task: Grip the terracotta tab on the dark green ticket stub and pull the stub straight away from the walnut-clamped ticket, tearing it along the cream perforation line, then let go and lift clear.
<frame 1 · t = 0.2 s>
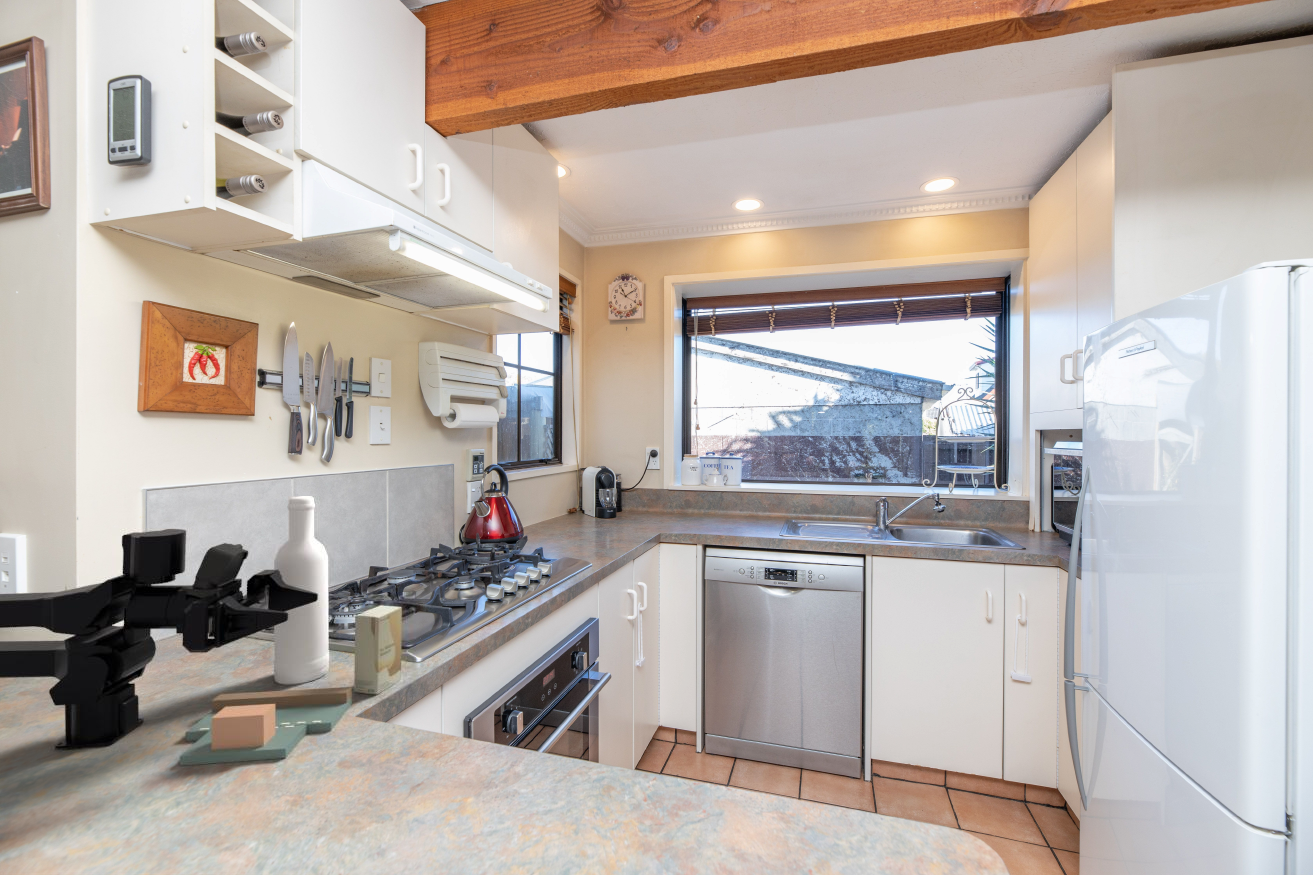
hand: (303, 606, 82), 17 cm above the countertop, tool horizontal, fingers open, 9 cm apart
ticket: (274, 721, 83), on the countertop
skincare box: (378, 686, 94), on the countertop
bottle: (302, 676, 98), on the countertop
stub: (246, 728, 76), point 3 cm above the countertop, slide at 0.0 cm
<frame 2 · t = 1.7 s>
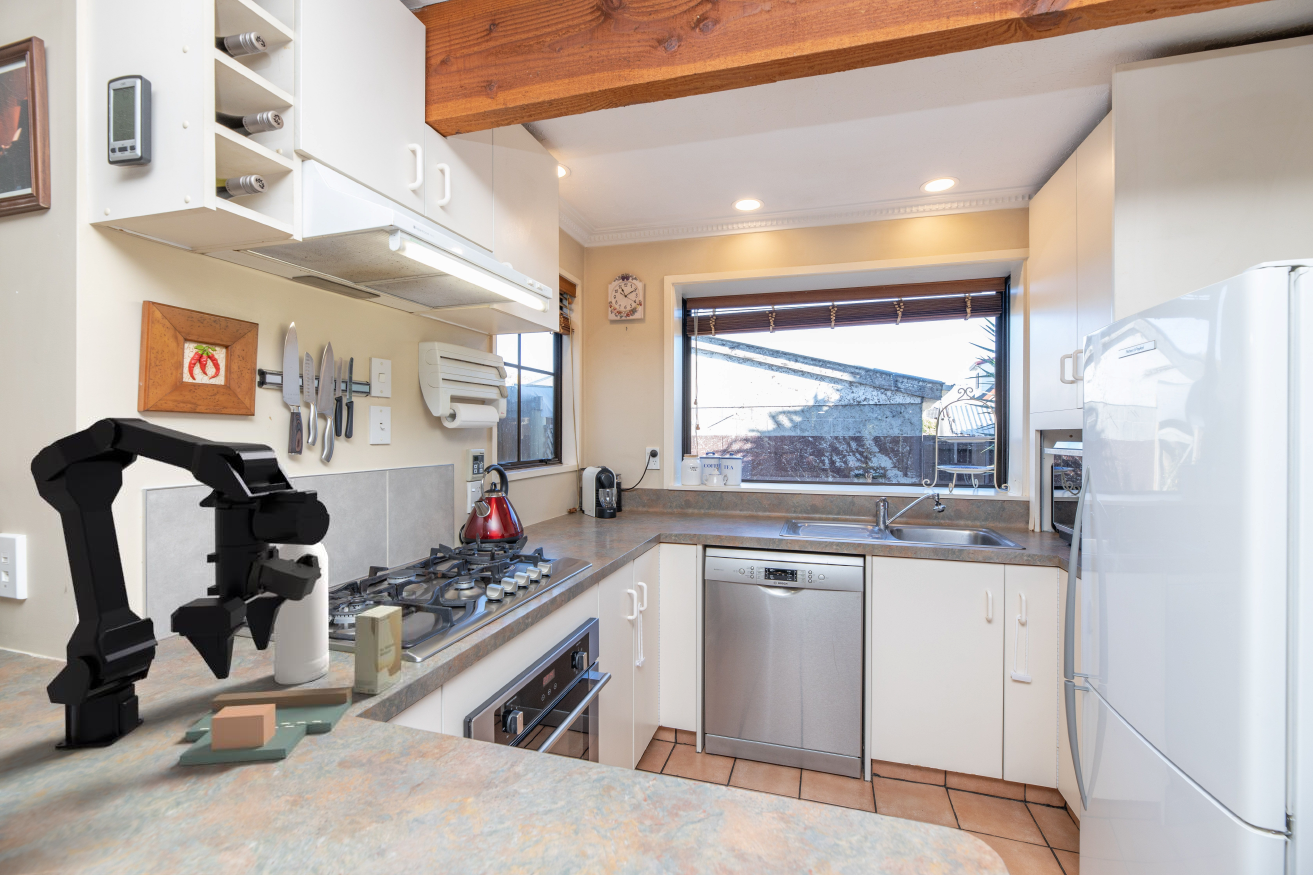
hand: (243, 663, 75), 11 cm above the countertop, tool pointing down, fingers open, 9 cm apart
nothing on the countertop moved.
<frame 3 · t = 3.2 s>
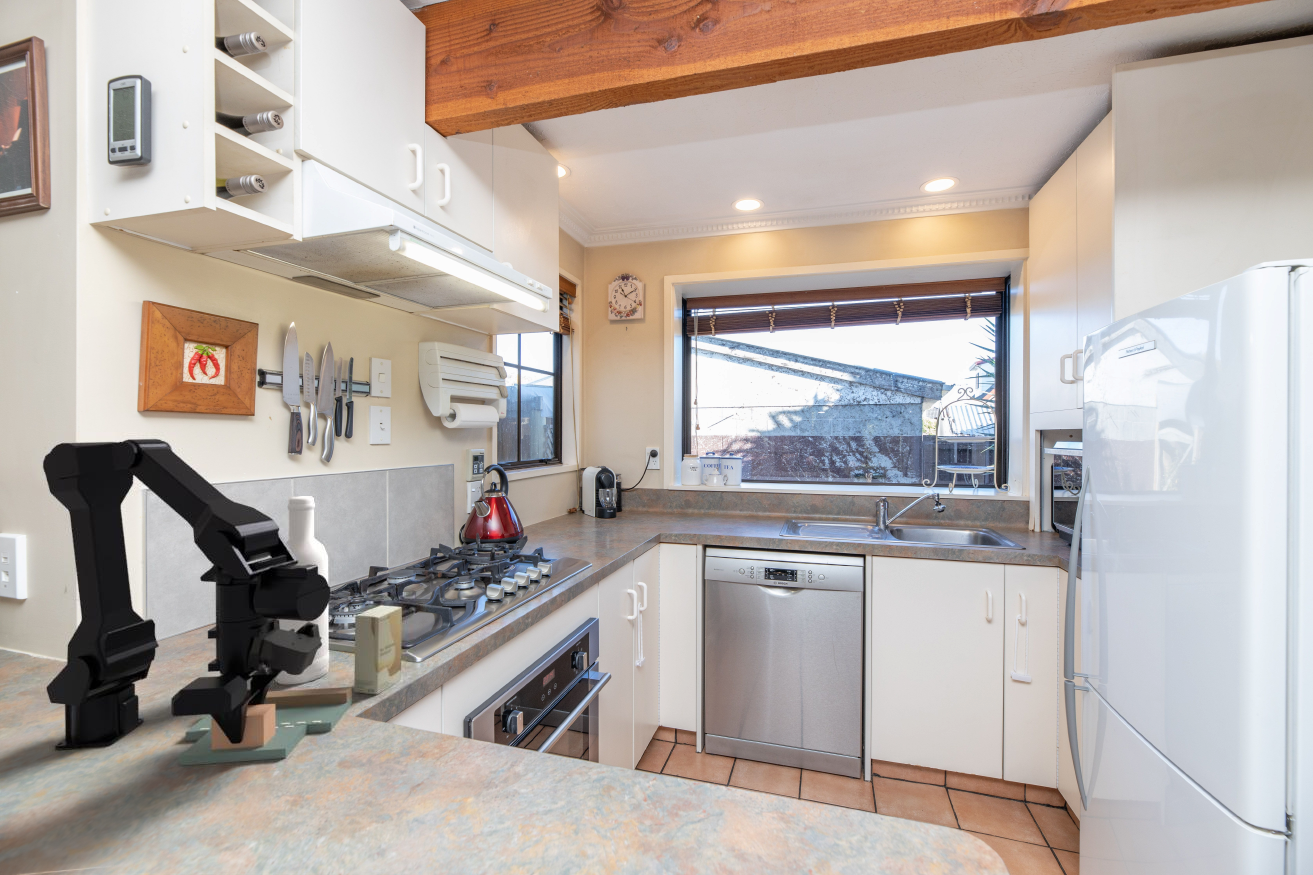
hand: (244, 735, 75), 2 cm above the countertop, tool pointing down, fingers closed on stub, 3 cm apart
stub: (246, 728, 76), point 3 cm above the countertop, slide at 0.0 cm, touching gripper
everything else where it was.
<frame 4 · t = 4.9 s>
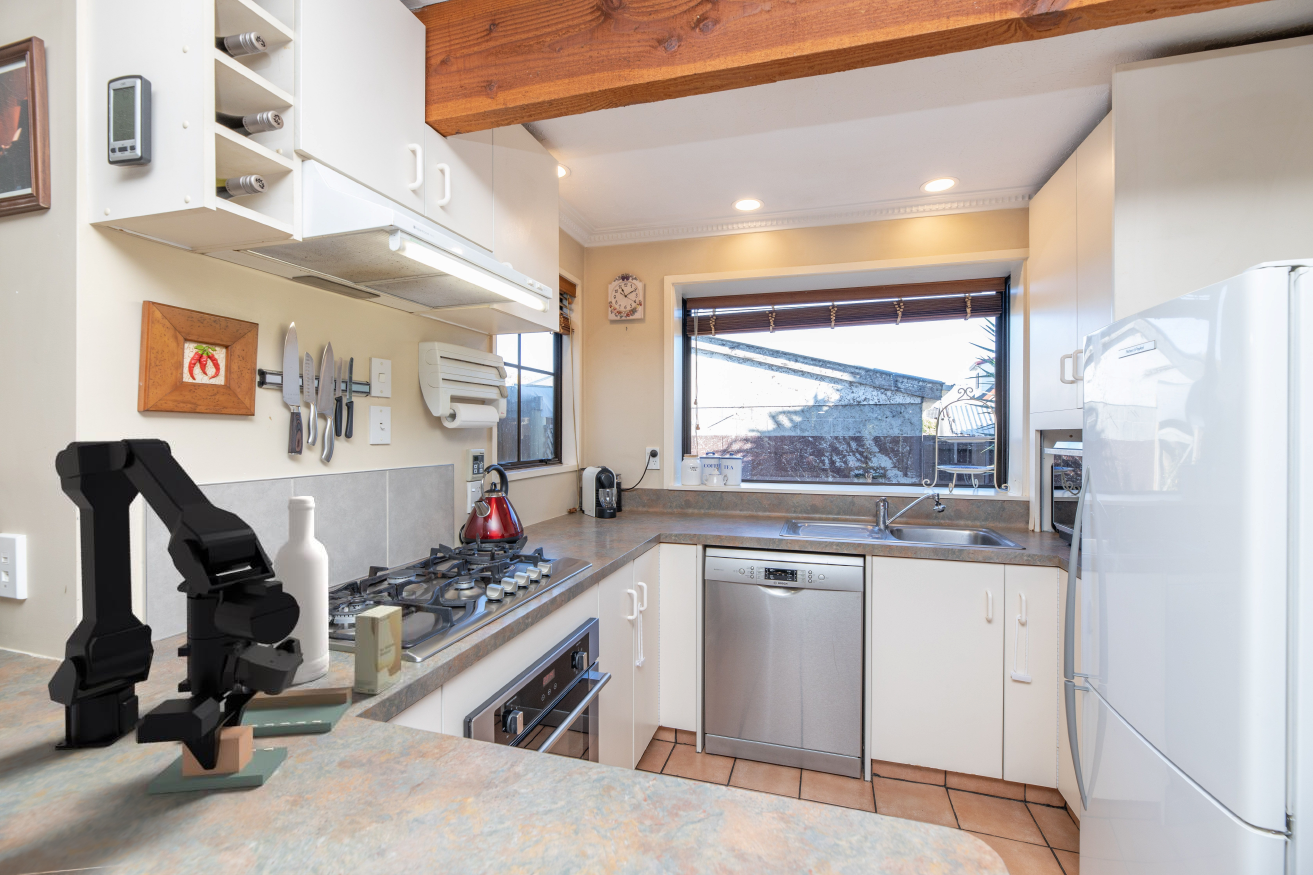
hand: (218, 760, 70), 2 cm above the countertop, tool pointing down, fingers closed on stub, 3 cm apart
stub: (221, 752, 70), point 3 cm above the countertop, slide at 5.6 cm, touching gripper
everything else where it was.
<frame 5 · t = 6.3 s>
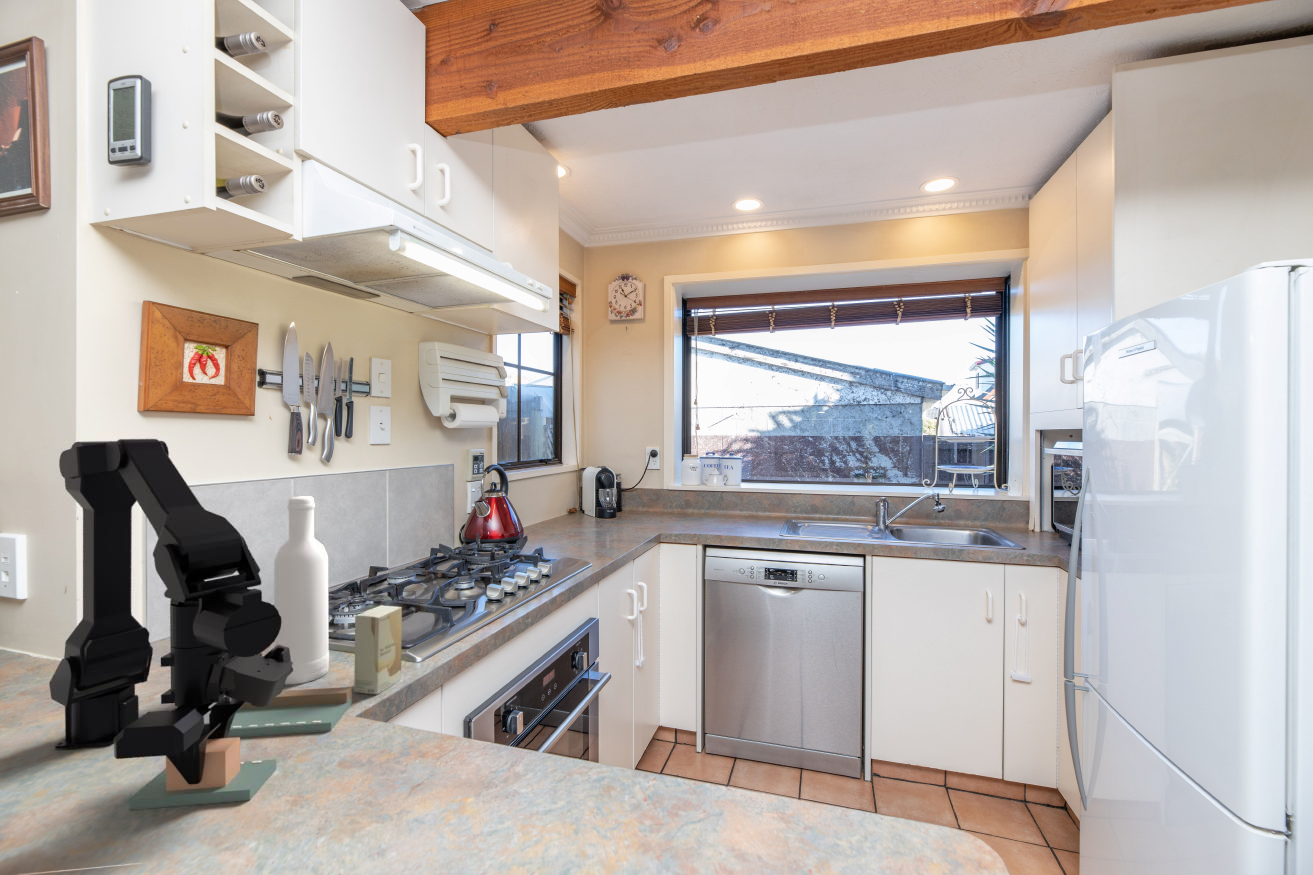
hand: (204, 774, 67), 2 cm above the countertop, tool pointing down, fingers closed on stub, 3 cm apart
stub: (206, 765, 67), point 3 cm above the countertop, slide at 8.4 cm, touching gripper
everything else where it was.
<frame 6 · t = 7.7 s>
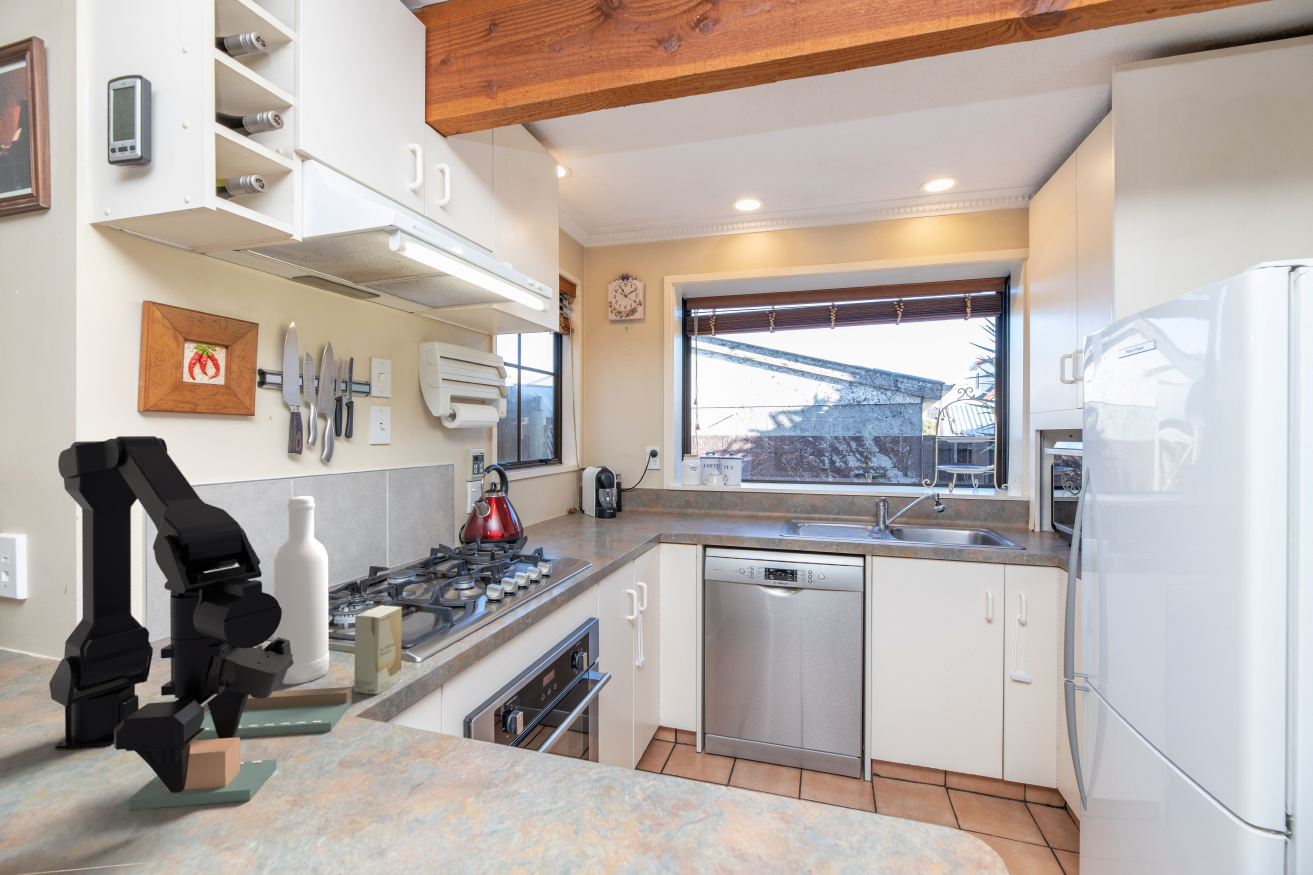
hand: (204, 766, 67), 3 cm above the countertop, tool pointing down, fingers open, 9 cm apart
stub: (206, 765, 67), point 3 cm above the countertop, slide at 8.4 cm
everything else where it was.
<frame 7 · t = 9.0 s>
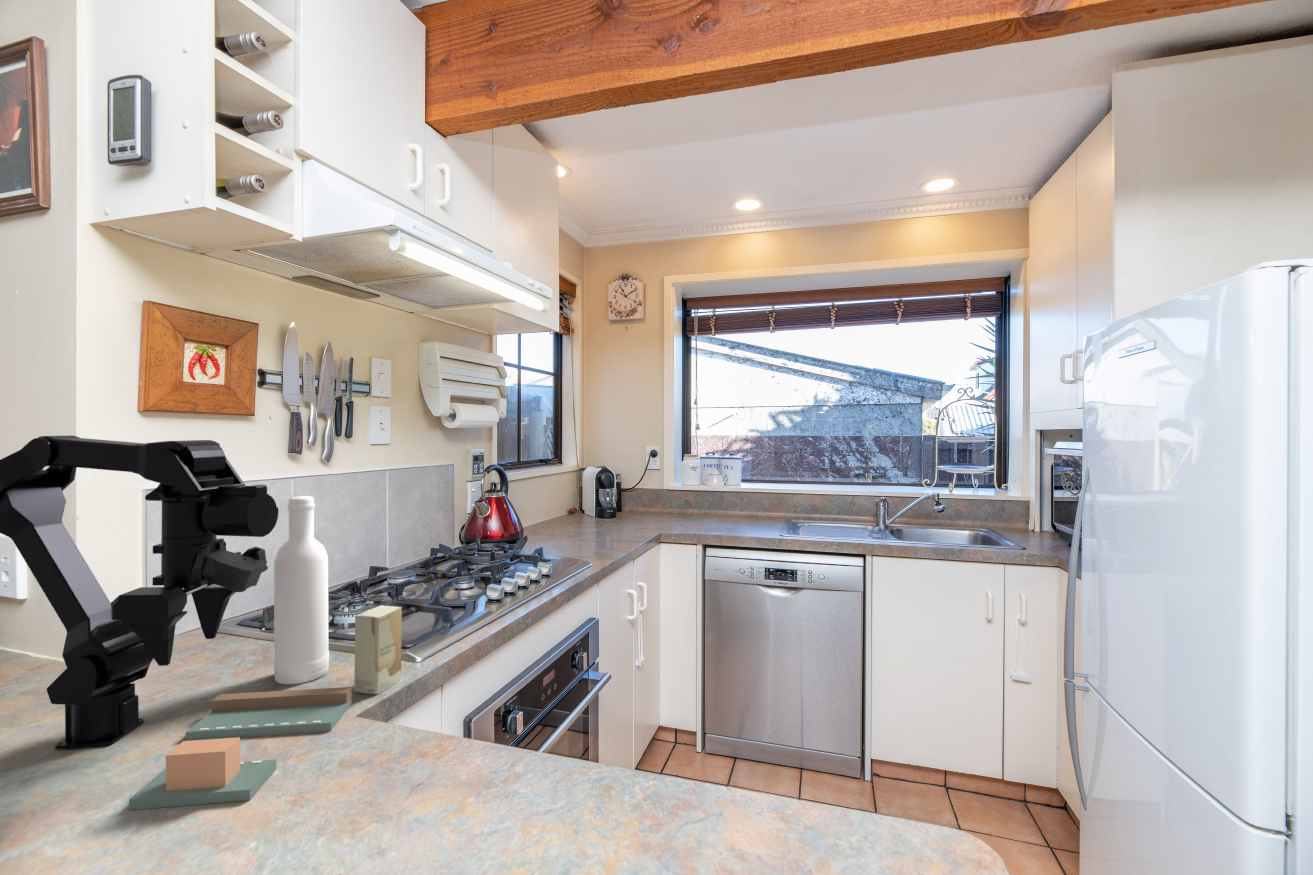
hand: (188, 650, 78), 12 cm above the countertop, tool pointing down, fingers open, 9 cm apart
nothing on the countertop moved.
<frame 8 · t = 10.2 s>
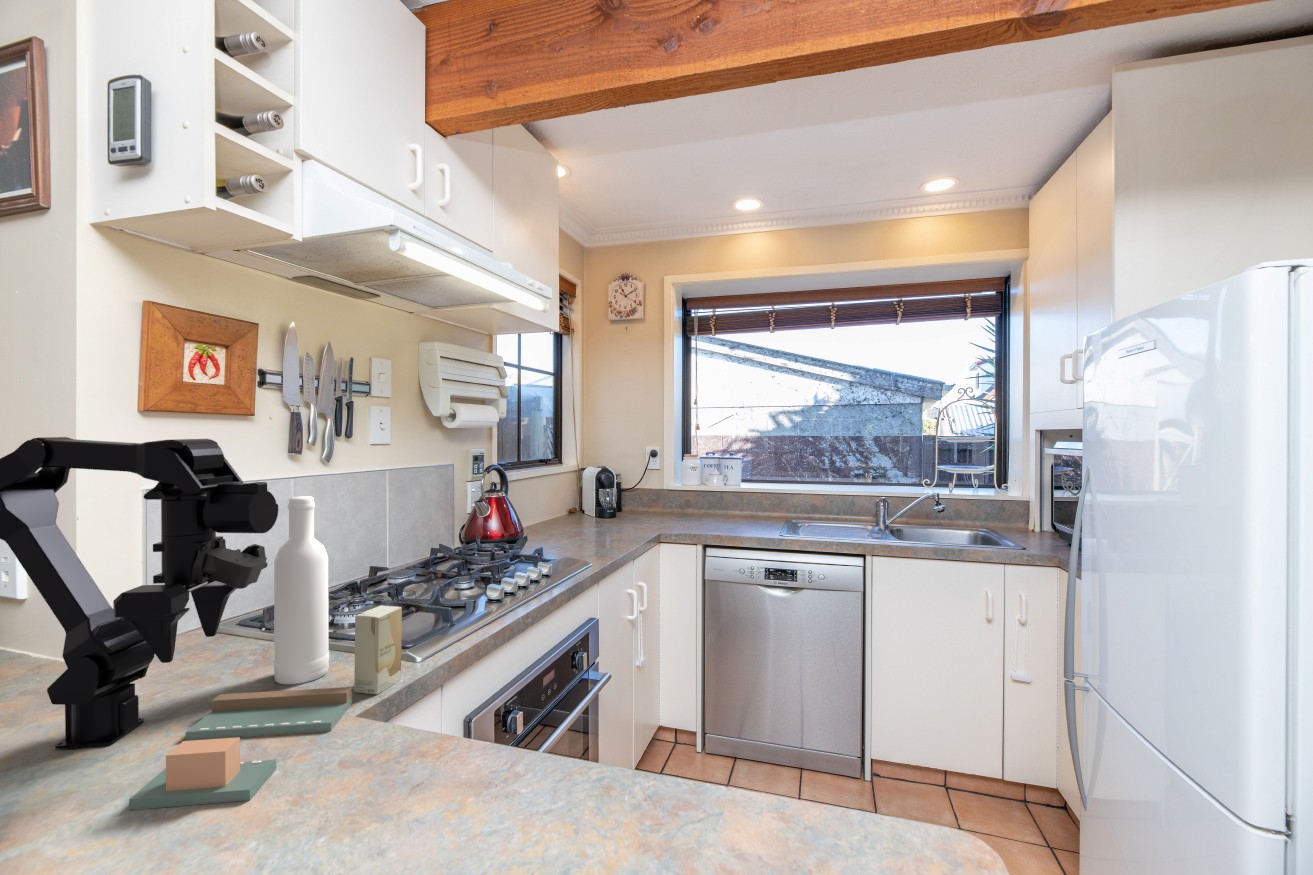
hand: (190, 648, 78), 12 cm above the countertop, tool pointing down, fingers open, 9 cm apart
nothing on the countertop moved.
at the end: stub slide at 8.4 cm; the gripper is holding nothing; skincare box moved 0.2 cm from its start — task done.
